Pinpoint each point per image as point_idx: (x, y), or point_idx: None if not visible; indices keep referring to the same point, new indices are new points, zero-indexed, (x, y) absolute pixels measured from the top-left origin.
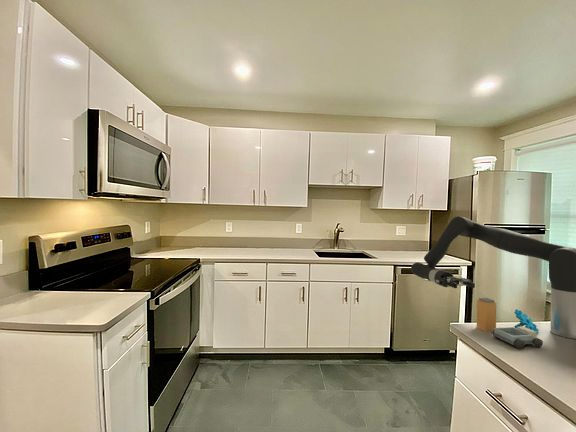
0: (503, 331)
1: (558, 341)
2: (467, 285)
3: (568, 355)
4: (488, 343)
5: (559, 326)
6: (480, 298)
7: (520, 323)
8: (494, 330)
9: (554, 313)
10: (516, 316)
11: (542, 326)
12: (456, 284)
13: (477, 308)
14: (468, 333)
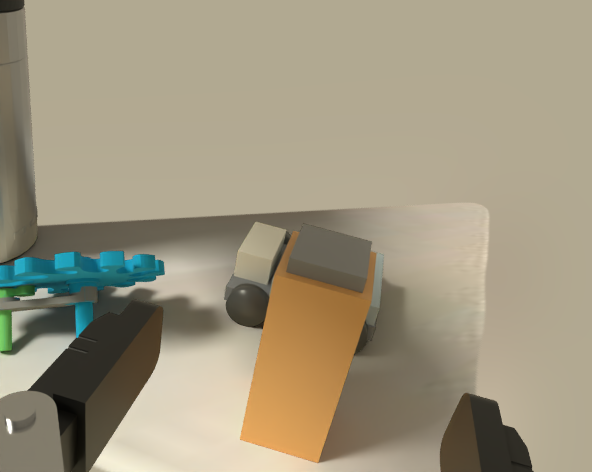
0: (374, 280)
1: (123, 241)
2: (93, 454)
3: (246, 217)
4: (439, 340)
5: (31, 205)
6: (363, 270)
7: (91, 306)
8: (376, 317)
9: (11, 160)
10: (151, 265)
11: None
12: (474, 400)
13: (352, 355)
14: None
